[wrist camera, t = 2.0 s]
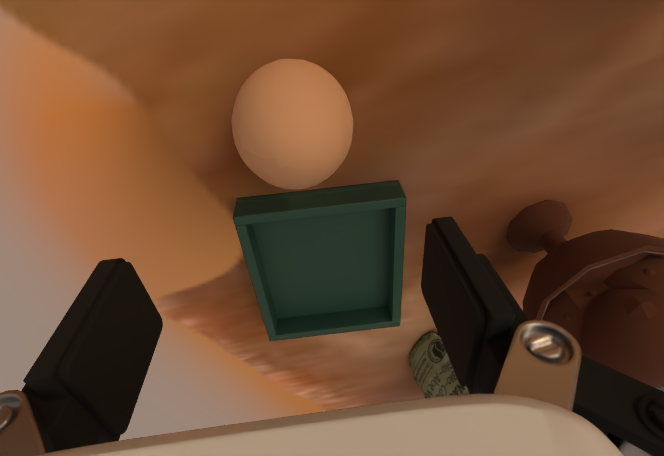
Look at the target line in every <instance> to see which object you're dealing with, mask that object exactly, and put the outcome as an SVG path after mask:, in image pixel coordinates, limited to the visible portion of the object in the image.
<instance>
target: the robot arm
mask: <svg viewBox="0 0 664 456" xmlns="http://www.w3.org/2000/svg"><path fill="white" fill-rule="evenodd" d="M421 288H422V293H423V296H424V298H425V301H426V303H427V306H428V308H429V311H430V313H431V316H432V318H433V320H434V323H435V325H436V328H437V330H438V333H439V335H440V338H441V340H442V343H443V345H444V347H445V350H446V352H447V355H448V357H449V360H450V362H451V365H452V367H453V370H454V372H455V374H456V377H457V379H458V382H459V384H460V385H461V386H462V387H463V386H466V387H467V389H468V391H469V394H466V395H451V396H443V397H434V398H425V399H417V400H408V401H400V402H392V403H385V404H377V405H370V406H362V407H355V408H347V409H340V410H333V411H325V412H318V413H310V414H304V415H296V416H289V417H282V418H275V419H267V420H261V421H253V422H246V423H239V424H232V425H224V426H217V427H210V428H203V429H197V430H189V431H183V432H176V433H169V434H162V435H155V436H148V437H141V438H134V439H127V440H121V441H119V438H120V435H121V434H123V433H124V432H125V431H126V430H127V427H128V425H129V422H130V419H131V416H132V414H133V411H134V408H135V405H136V402H137V399H138V396H139V393H140V390H141V388H142V385H143V382H144V379H145V376H146V374H147V371H148V368H149V365H150V362H151V359H152V356H153V354H154V351H155V348H156V345H157V342H158V339H159V336H160V333H161V331H162V326H163V324H162V318H161V316H160V314H159V312H158V311H157V309H156V307H155V305H154V303H153V302H152V300H151V298H150V296H149V294H148V293H147V291H146V289H145V287H144V285H143V284H142V282H141V280H140V278H139V277H138V275H137V273H136V271H135V269H134V267H133V266H132V264H131V263H130V262H126V261H125V260H124V259H122V258H118V259H110V260H103V261H100V262H99V263H98V265H97V266H96V268H95V270H94V271H93V273H92V274H91V276H90V277H89V279H88V280H87V282H86V284H85V285H84V287H83V288H82V290H81V291H80V293H79V294H78V296H77V297H76V299H75V301H74V302H73V304H72V305H71V307H70V308H69V310H68V312H67V313H66V315H65V316H64V318H63V320H62V321H61V323H60V324H59V326H58V327H57V329H56V330H55V332H54V334H53V335H52V336H51V338H50V340H49V341H48V343H47V344H46V346H45V347H44V349H43V351H42V352H41V354H40V355H39V357H38V358H37V360H36V362H35V363H34V365H33V366H32V368H31V369H30V371H29V373H28V374H27V376H26V377H25V379H24V382H25V383H26V384H25V386H24V387H23V389H22V391H19V390H8V391H5V392H2V393H0V456H664V392H663V391H661V390H658V389H656V388H654V387H652V386H650V385H647V384H645V383H643V382H641V381H639V380H636V379H634V378H632V377H630V376H627V375H625V374H623V373H621V372H619V371H616V370H614V369H612V368H610V367H608V366H605V365H603V364H601V363H599V362H596V361H594V360H592V359H590V358H588V357H585V356H583V355H581V348H580V346H579V344H578V342H577V340H576V339H575V338H574V337H573V336H572V335H571V333H569V332H568V331H566V330H565V329H564V328H562V327H560V326H558V325H556V324H554V323H552V322H548V321H544V320H528V318H527V317H526V315H525V314H524V312H523V311H522V309H521V308H520V306H519V305H518V303H517V302H516V300H515V299H514V297H513V296H512V294H511V293H510V291H509V290H508V289H507V287H506V286H505V284H504V283H503V281H502V280H501V278H500V277H499V275H498V274H497V272H496V271H495V269H494V268H493V266H492V265H491V263H490V262H489V260H488V259H487V258H486V257H485V256H484V255H483V254H476V253H475V251H474V250H473V248H472V247H471V245H470V244H469V242H468V241H467V239H466V238H465V236H464V234H463V233H462V231H461V230H460V228H459V227H458V225H457V224H456V222H455V221H454V219H453V218H452V217H443V218H435V219H433V220H432V223H431V224H427V226H426V234H425V245H424V257H423V268H422V280H421Z"/></svg>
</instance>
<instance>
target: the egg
mask: <svg viewBox="0 0 664 456" xmlns="http://www.w3.org/2000/svg"><path fill="white" fill-rule="evenodd" d="M231 121H232V131H233V138H234V142H235V146H236V148H237V150H238V152H239V154H240V156H241V158H242V160H243V161H244V162H245V164H246V165H247V167H248V168H250V169H251V170H252V171H253V172H254V173H255V174H256V175H257V176H258V177H260V178H261V179H263V180H264V181H266V182H267V183H269V184H271V185H274V186H276V187H280V188H284V189H304V188H309V187H312V186H315V185H318V184H319V183H321V182H322V181H324V180H326V179H327V178H329V177H330V176H331V175H332V174H333V173H334V172H335V171H336V170H337V169H338V168H339V167H340V165H341V164H342V162H343V161H344V160H345V158H346V156H347V154H348V151H349V148H350V146H351V142H352V134H353V117H352V112H351V107H350V104H349V101H348V99H347V96H346V93H345V92H344V90H343V89H342V87H341V85H340V84H339V82H338V81H337V80H336V79H335V78H334V77H333V76H332V75H331V74H330V73H329V72H327V71H326V70H324V69H323V68H321V67H320V66H318V65H317V64H314V63H311V62H308V61H306V60H302V59H287V58H285V59H279V60H276V61H273V62H271V63H268V64H265V65H263V66H261V67H260V68H259V69H257V70H256V71H255V72H254V73H252V74H251V75H250V76H249V77H248V78H247V80H246V81H245V82H244V84H243V85H242V87H241V88H240V90H239V91H238V94H237V97H236V100H235V103H234V107H233V113H232V119H231Z"/></svg>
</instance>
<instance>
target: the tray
mask: <svg viewBox="0 0 664 456" xmlns="http://www.w3.org/2000/svg"><path fill="white" fill-rule="evenodd" d="M233 220H234V224H235V225H236V226H235V227H236V230H237V233H238V237H239V240H240V244H241V247H242V250H243V254H244V257H245V260H246V264H247V267H248V270H249V274H250V277H251V280H252V284H253V287H254V290H255V294H256V297H257V300H258V304H259V307H260V310H261V314H262V317H263V320H264V324H265V327H266V330H267V334H268V337H269V340H270V341H277V340H285V339H294V338H302V337H310V336H319V335H327V334H336V333H344V332H352V331H361V330H369V329H378V328H386V327H395V326H400V318H401V298H402V279H403V259H404V240H405V220H406V196H405V194H404V192H403V189H402V187H401V185H400V183H399V181H389V182H380V183H371V184H362V185H353V186H344V187H335V188H326V189H317V190H308V191H299V192H290V193H281V194H272V195H263V196H254V197H246V198H237V201H236V206H235V210H234V214H233Z"/></svg>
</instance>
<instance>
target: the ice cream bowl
mask: <svg viewBox="0 0 664 456" xmlns="http://www.w3.org/2000/svg"><path fill="white" fill-rule="evenodd" d="M571 221H572V217H571V215H570V213H569V211H568V210H567V208H566V206H565V204H564V203H561V202H555V201H549V200H545V201H542V202H540V203H537V204H534V205H532V206H529V207H526V208H525V209H524V210H523V211H522V212H521V213H520V214H519V215H518V216H517V217H516V218H515V219H514V220H513V221H511V223H510V227H509V231H508V235H507V239H508V240H509V241H510V243H511V244H512V245H513V247H514V248H515V249H517V250H519V251H525V252H532V253H535V252H538V251H541V250H545V251H546V252H547V253H548V255H547V256H545V257H544V258H543V259H542V260H541V261H540V262H538V263H537V264H536V266H535V268H534V271H533V273H532V275H531V278H530V281H529V284H528V287H527V290H526V293H525V296H524V300H523V312H524V314H525V315H526V317H527V318H528V320H544V321H548V322H552V323H554V324H556V325H558V326H560V327H562V328H564V329H565V330H566V331H568V332H569V333H571V335H572V336H573V337H574V338H575V339H576V340H577V342H578V344H579V346H580V348H581V355H583V356H585V357H588V358H590V359H592V360H594V361H596V362H599V363H601V364H603V365H605V366H608V367H610V368H612V369H614V370H616V371H619V372H621V373H623V374H625V375H627V376H630V377H632V378H634V379H636V380H639V381H641V382H643V383H645V384H647V385H650V386H652V387H654V388H661V387H664V239H662V238H658V237H654V236H650V235H644V234H638V233H631V232H625V231H619V230H612V229H611V230H603V231H596V232H592V233H589V234H586V235H583V236H580V237H577V238H574V239H571V240H569V241H566V240H565V239H564V238H563V237H564V236H565V235H566V234H567V232H568V229H569V227H570V224H571Z"/></svg>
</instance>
